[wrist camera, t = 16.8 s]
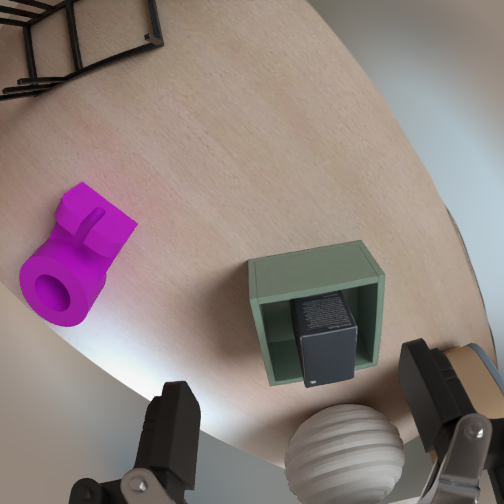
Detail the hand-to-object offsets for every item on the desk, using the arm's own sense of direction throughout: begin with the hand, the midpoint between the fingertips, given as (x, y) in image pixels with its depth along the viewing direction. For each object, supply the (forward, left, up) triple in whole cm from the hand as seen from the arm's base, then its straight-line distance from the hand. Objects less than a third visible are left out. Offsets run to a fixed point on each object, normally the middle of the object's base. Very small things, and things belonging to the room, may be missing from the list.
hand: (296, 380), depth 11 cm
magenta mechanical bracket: (+23, +4, -26) cm, 35 cm away
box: (-4, +15, -25) cm, 30 cm away
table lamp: (-7, +47, -26) cm, 54 cm away
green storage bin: (-4, +16, -26) cm, 30 cm away
